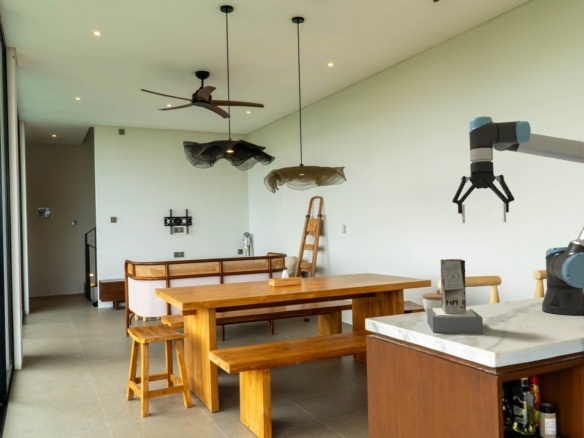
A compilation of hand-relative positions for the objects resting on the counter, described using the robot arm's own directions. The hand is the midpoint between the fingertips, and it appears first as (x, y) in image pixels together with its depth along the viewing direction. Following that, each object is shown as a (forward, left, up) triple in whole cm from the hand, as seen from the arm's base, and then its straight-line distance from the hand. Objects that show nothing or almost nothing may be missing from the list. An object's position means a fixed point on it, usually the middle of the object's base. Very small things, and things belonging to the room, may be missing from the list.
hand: (483, 222), depth 171 cm
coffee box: (+14, +21, -28) cm, 37 cm away
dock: (+14, +21, -33) cm, 41 cm away
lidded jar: (+16, +2, -33) cm, 37 cm away
